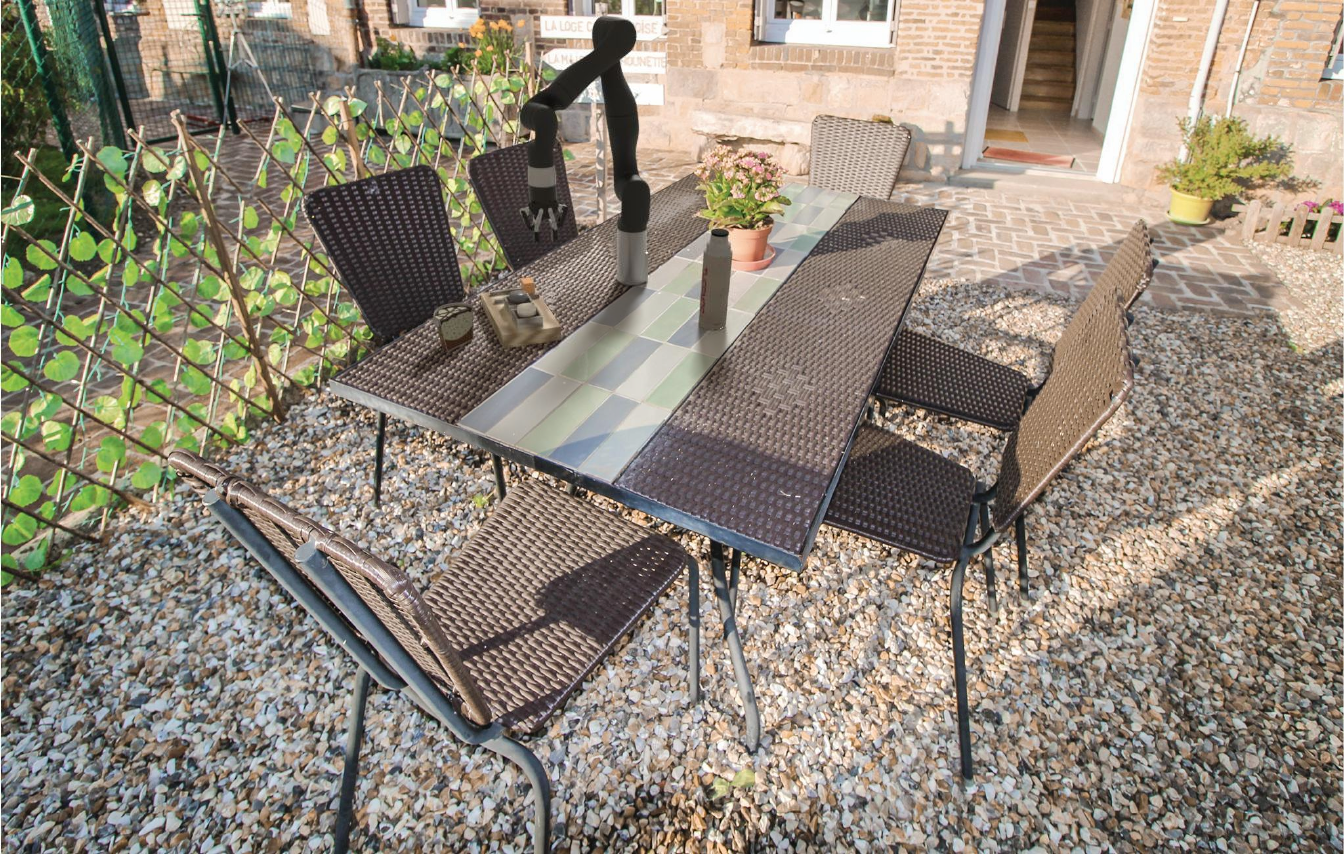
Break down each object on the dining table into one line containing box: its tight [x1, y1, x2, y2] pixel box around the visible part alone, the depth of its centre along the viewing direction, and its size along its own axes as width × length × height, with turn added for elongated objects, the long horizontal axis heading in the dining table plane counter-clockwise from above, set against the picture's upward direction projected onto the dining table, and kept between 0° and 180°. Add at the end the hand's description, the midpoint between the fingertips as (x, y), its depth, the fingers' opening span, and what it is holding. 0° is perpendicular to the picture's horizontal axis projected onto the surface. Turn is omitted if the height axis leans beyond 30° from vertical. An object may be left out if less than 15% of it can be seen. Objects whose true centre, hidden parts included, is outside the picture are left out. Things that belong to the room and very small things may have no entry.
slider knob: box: [520, 277, 536, 294], centre depth 217 cm, size 3×4×4 cm
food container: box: [432, 302, 476, 353], centre depth 197 cm, size 12×6×10 cm, turn 145°
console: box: [480, 286, 562, 349], centre depth 210 cm, size 16×28×7 cm, turn 24°
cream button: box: [517, 303, 536, 317], centre depth 201 cm, size 5×5×2 cm
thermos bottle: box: [698, 227, 733, 330], centre depth 208 cm, size 8×8×28 cm
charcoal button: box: [509, 290, 528, 304], centre depth 207 cm, size 5×5×2 cm
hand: (545, 242), depth 211 cm, fingers open, 4 cm apart
